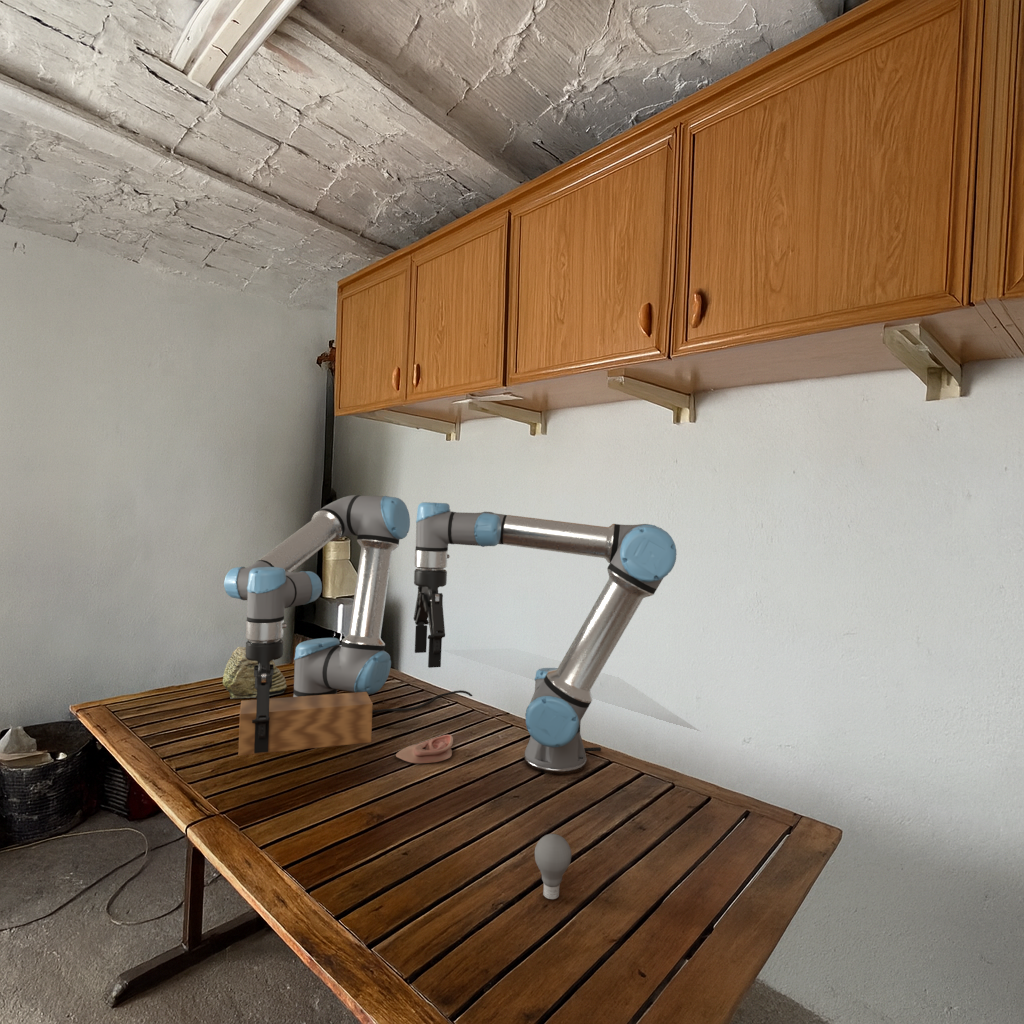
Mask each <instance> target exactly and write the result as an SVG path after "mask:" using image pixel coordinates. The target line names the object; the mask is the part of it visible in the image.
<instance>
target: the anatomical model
mask: <svg viewBox="0 0 1024 1024" xmlns="http://www.w3.org/2000/svg"><path fill="white" fill-rule="evenodd" d="M453 745H454V737H453V735H451V734H443V735H440V736H436V737H432V738H430V739H428V740H426V741H421V742H419V743H416V744H411V745H409V746H407V747H404V748H402V749H401V750H399V751H397V752H396V754H395V757H396V758H397V759H400V760H402V761H404V762H407V763H411V764H430V763H431V764H432V763H438V762H443V761H445V760H448V759H450V758H451V757H452V755H453V750H452V749H451V748H452V746H453Z"/></svg>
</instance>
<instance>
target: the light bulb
mask: <svg viewBox="0 0 1024 1024" xmlns="http://www.w3.org/2000/svg"><path fill="white" fill-rule="evenodd" d="M572 856H573V855H572V849H571V846H570V845H569V843H568V842H567V840H566V839H565V838H564V837H563V836H562V835H560V834H557V833H548V834H545V835H544V836H542V837H541V838H540V839H539V840H538V842H537V843H536V845H535V847H534V861H535V863H536V866H537V867H538V870H539V871H540V874H541V880H542V882H543V891H542V895H543V896H544V898H545V899H548V900H556V899H558V898H559V897H560V885H561V883H562V881H563V877H564V874H565V873H566V871H567V870H568V869H569V866H570V864H571V861H572Z"/></svg>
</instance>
